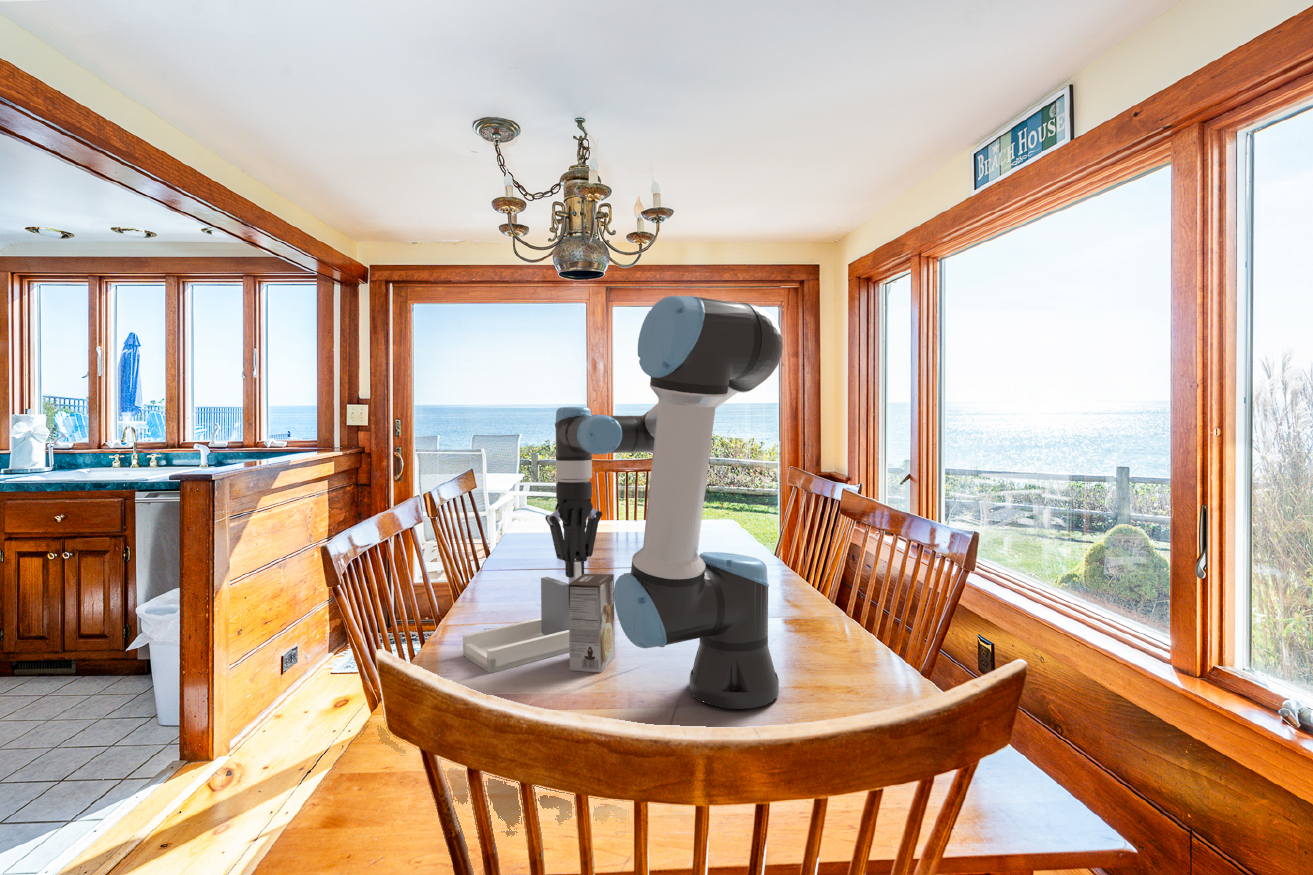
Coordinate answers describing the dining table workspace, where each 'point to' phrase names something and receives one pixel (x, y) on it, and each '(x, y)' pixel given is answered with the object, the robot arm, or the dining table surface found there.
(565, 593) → the block
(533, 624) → the white rectangular tray
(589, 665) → the coffee box
